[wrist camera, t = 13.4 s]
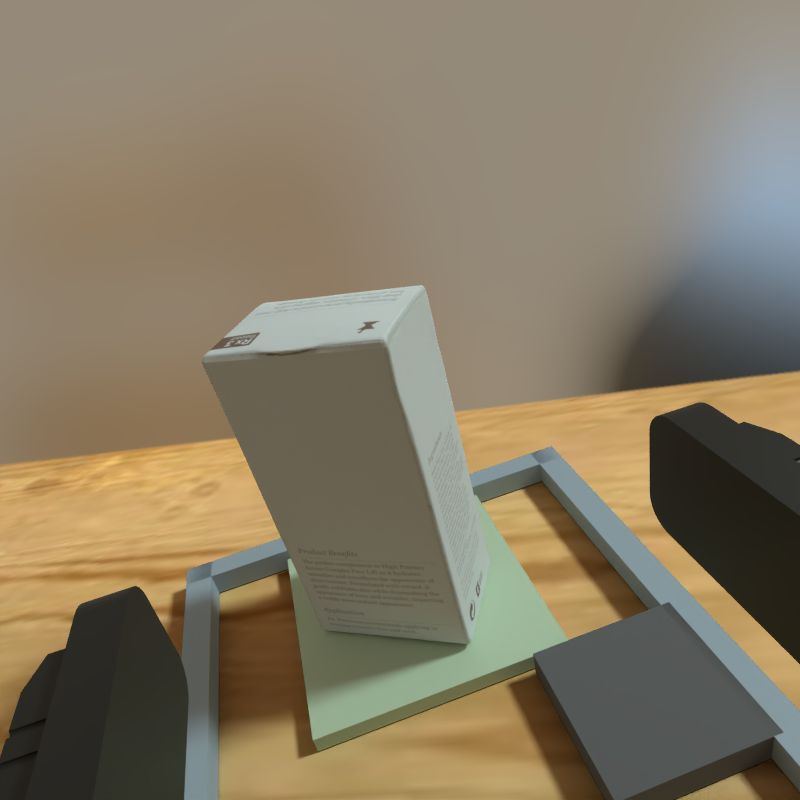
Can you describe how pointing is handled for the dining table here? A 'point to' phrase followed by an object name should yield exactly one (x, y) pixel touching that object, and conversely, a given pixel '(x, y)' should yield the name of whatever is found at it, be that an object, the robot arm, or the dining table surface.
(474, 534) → the skincare box
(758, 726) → the grey slab
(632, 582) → the lane rails
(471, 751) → the dining table surface
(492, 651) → the pad
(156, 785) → the robot arm
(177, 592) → the dining table surface
